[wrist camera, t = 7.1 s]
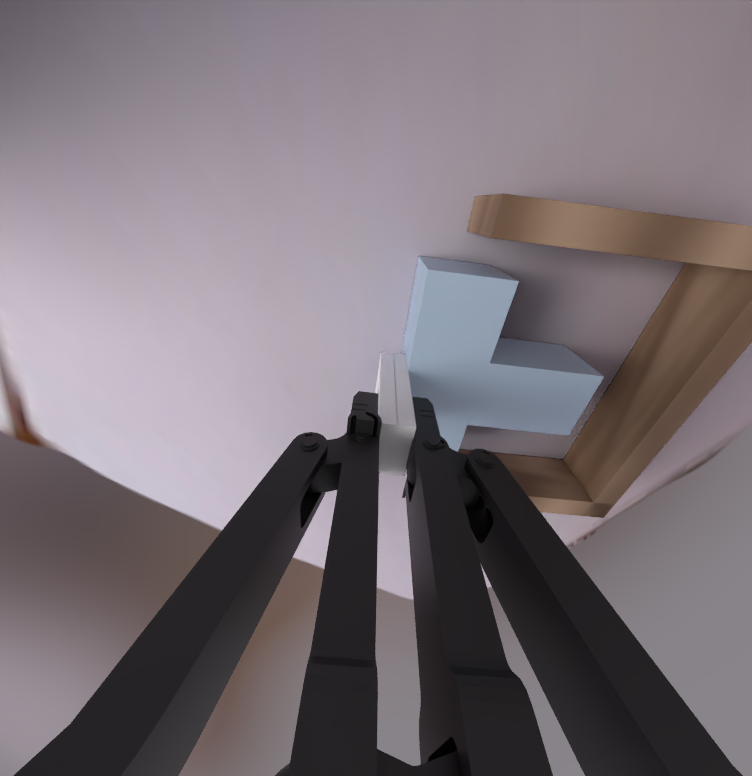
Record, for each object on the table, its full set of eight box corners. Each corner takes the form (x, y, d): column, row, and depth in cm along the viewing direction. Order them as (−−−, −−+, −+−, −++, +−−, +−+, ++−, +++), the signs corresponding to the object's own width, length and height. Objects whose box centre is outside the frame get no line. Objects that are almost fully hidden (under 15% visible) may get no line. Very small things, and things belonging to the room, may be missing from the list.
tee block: (388, 426, 22) (389, 466, 19) (418, 255, 16) (427, 269, 13) (517, 440, 23) (540, 481, 19) (596, 278, 16) (651, 298, 13)
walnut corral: (412, 458, 24) (416, 500, 21) (475, 196, 14) (503, 193, 11) (573, 474, 24) (603, 517, 21) (735, 230, 15) (839, 237, 12)
